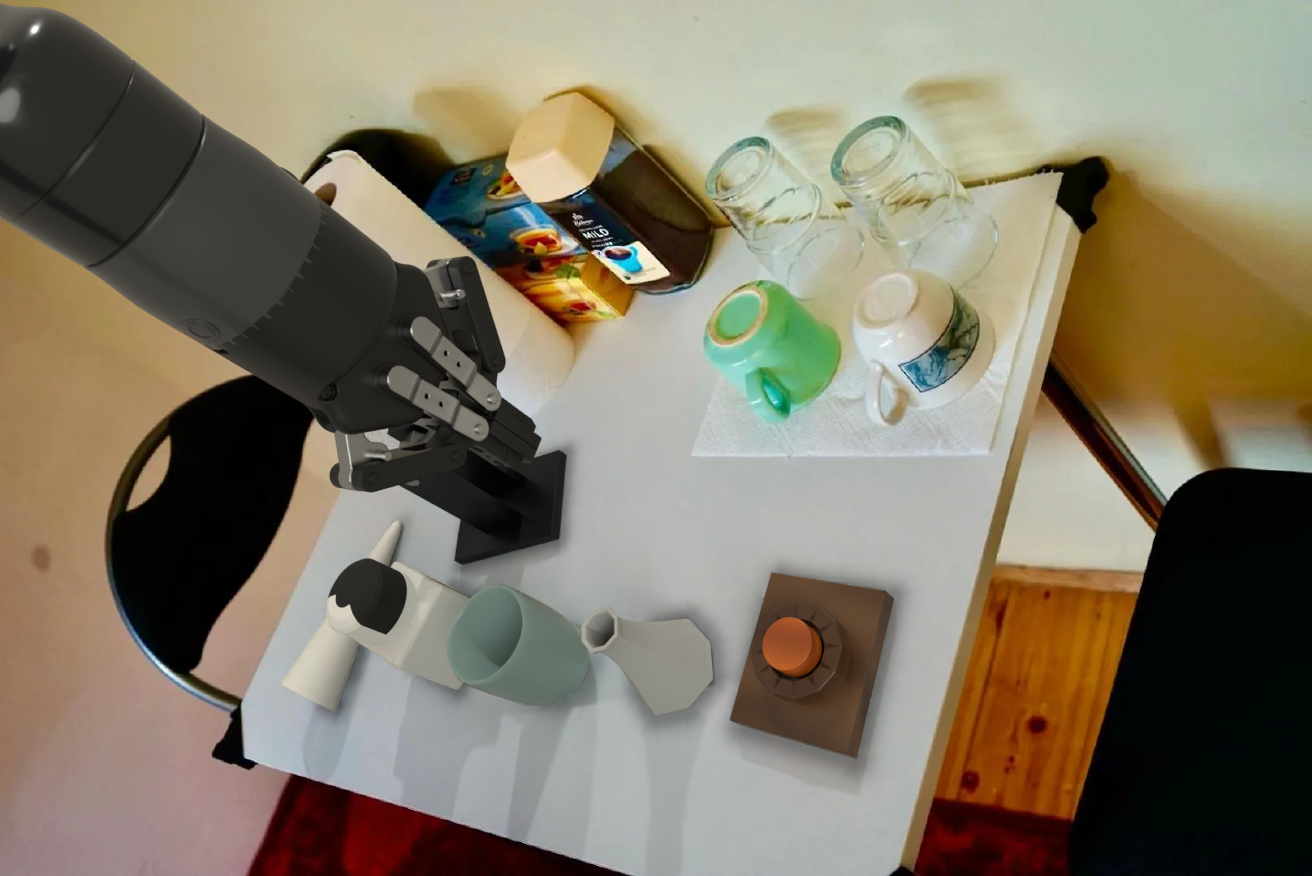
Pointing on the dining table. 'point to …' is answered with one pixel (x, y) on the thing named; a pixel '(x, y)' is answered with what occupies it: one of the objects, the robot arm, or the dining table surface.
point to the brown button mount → (842, 680)
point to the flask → (653, 656)
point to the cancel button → (792, 647)
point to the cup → (516, 648)
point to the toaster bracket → (496, 501)
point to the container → (397, 616)
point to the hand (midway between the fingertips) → (525, 451)
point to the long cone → (333, 648)
